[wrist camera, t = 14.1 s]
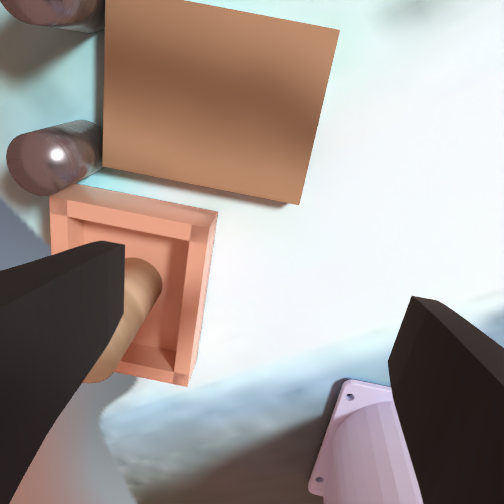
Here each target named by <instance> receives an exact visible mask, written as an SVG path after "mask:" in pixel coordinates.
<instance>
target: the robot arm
mask: <svg viewBox="0 0 504 504" xmlns="http://www.w3.org/2000/svg"><path fill="white" fill-rule="evenodd" d="M124 281H125V245H124V244H119V243H113V242H108V241H102V240H101V241H96V242H91V243H88V244H84V245H81V246H78V247H75V248H72V249H69V250H66V251H63V252H60V253H57V254H54V255H51V256H48V257H45V258H42V259H38V260H35V261H33V262H29V263H26V264H23V265H19V266H16V267H12V268H9V269H6V270H2V271H0V504H9V503H10V501H11V499H12V497H13V495H14V493H15V492H16V490H17V488H18V486H19V484H20V482H21V480H22V478H23V476H24V475H25V473H26V471H27V469H28V467H29V466H30V464H31V462H32V460H33V458H34V457H35V455H36V453H37V451H38V449H39V448H40V446H41V444H42V442H43V440H44V438H45V437H46V435H47V433H48V432H49V430H50V429H51V427H52V426H53V424H54V422H55V421H56V419H57V418H58V416H59V415H60V413H61V412H62V411H63V409H64V408H65V406H66V405H67V403H68V402H69V401H70V399H71V398H72V396H73V395H74V393H75V392H76V391H77V389H78V388H79V386H80V385H81V383H82V382H83V381H84V379H85V378H86V376H87V375H88V373H89V372H90V371H91V369H92V368H93V366H94V365H95V363H96V362H97V360H98V359H99V358H100V356H101V355H102V353H103V352H104V350H105V349H106V347H107V346H108V344H109V342H110V340H111V338H112V336H113V334H114V332H115V331H116V328H117V326H118V324H119V322H120V320H121V318H122V316H123V314H124ZM388 368H389V376H390V383H391V387H388V386H383V385H378V384H373V383H368V382H363V381H358V380H352V379H350V380H347V381H345V382H344V383H343V385H342V388H341V391H340V394H339V397H338V399H337V402H336V405H335V408H334V411H333V414H332V417H331V420H330V422H329V425H328V428H327V431H326V434H325V437H324V440H323V443H322V446H321V448H320V451H319V454H318V457H317V460H316V463H315V466H314V469H313V471H312V474H311V477H310V480H309V483H308V490H309V492H310V493H312V494H314V495H319V496H323V500H324V504H504V348H503V347H502V346H500V345H499V344H498V343H496V342H495V341H494V340H492V339H491V338H489V337H488V336H487V335H486V334H484V333H483V332H482V331H480V330H479V329H478V328H476V327H475V326H474V325H472V324H471V323H470V322H468V321H467V320H465V319H464V318H463V317H461V316H460V315H459V314H457V313H456V312H454V311H453V310H452V309H450V308H449V307H447V306H446V305H444V304H442V303H440V302H439V301H437V300H432V299H426V298H420V297H415V296H412V297H411V299H410V302H409V305H408V308H407V310H406V313H405V316H404V319H403V321H402V324H401V327H400V329H399V332H398V335H397V338H396V340H395V343H394V346H393V349H392V351H391V354H390V357H389V360H388ZM347 394H352V395H351V396H347Z"/></svg>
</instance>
